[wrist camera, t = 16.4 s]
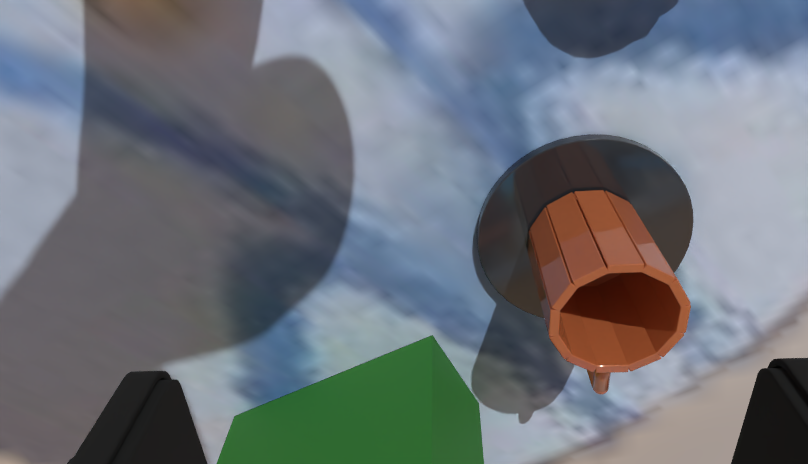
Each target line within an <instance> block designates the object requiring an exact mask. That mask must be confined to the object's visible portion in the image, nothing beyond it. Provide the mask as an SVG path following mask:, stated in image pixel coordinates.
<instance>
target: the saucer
mask: <svg viewBox="0 0 808 464" xmlns="http://www.w3.org/2000/svg"><path fill="white" fill-rule="evenodd" d="M594 190H604V192H605V191H608V192H610V193H612V194H614V195H616V196H618V197H620V198H622V199H624V200H626V201H628V202H629V203H630V204H632V206H633V207H634V209H635V211H636V212H637V214H638V216H639V217H640V219H641V220H642V222H643V224H644V225H645V227H646V229H647V230H648V232H649V233H650V235H651V237H652V238H653V240H654V242H655V243H656V245H657V246H658V248H659V250H660V251H661V253H662V255H663V256H664V258H665V259H666V261H667V263H668V264H669V266H670V268H671V269H672V271H673V272H675V271H676V270H677V268H678V267H679V265H680V263H681V261H682V260H683V258H684V256H685V254H686V251H687V249H688V247H689V243H690V239H691V236H692V229H693V209H692V204H691V199H690V196H689V193H688V191H687V188H686V186H685V184H684V183H683V181H682V179H681V178H680V176H679V175H678V174H677V172H676V171H675V170H674V169H673V168H672V167H671V165H670V164H669V163H668V162H667V161H666V160H665V159H664V158H662V157H661V156H660V155H659V154H658V153H656V152H655V151H653V150H651V149H650V148H648V147H647V146H645V145H642V144H640V143H638V142H635V141H633V140H629V139H626V138H622V137H617V136H610V135H581V136H573V137H569V138H565V139H560V140H557V141H555V142H552V143H549V144H546V145H544V146H542V147H540V148H538V149H536V150H534V151H532V152H530V153H529V154H527V155H526V156H524V157H522V158H521V159H519V160H518V161H517V162H516V163H515V164H513V165H512V166H511V167H510V168H509V169H508V170H507V171H506V172H505V173H504V174H503V175H502V176H501V177H500V178H499V179H498V181H497V182H496V183H495V185H494V186H493V188H492V189H491V191H490V192H489V194H488V196H487V198H486V200H485V202H484V205H483V207H482V210H481V213H480V217H479V221H478V229H477V242H478V252H479V257H480V261H481V264H482V267H483V269H484V272H485V274H486V276H487V277H488V279H489V281H490V282H491V284H492V285H493V286H494V288H495V289H496V290H497V291H498V292H499V293H500V294H501V295H502V296H503V297H504V298H505V299H506V300H507V301H509V302H510V303H512V304H513V305H515V306H516V307H518V308H520V309H522V310H524V311H525V312H527V313H530V314H533V315H536V316H538V317H542V318H544V315H543V311H542V307H541V303H540V299H539V295H538V291H537V287H536V283H535V279H534V275H533V271H532V267H531V263H530V259H529V255H528V242H529V231H530V228H531V226H532V225H533V223H534V222H535V220H536V219H537V218H538V216H539V215H540V213H541V212H542V210H543V209H544V208H547V205H548V204H550V203H552V202H554V201H556V200H558V199H560V198H562V197H563V196H565V195H567V194H569V193H571V192H573V193H574V192H575V191H594Z"/></svg>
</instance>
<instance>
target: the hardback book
mask: <svg viewBox="0 0 808 464" xmlns="http://www.w3.org/2000/svg"><path fill="white" fill-rule="evenodd" d="M217 464H484V459H483V447H482V435H481V423H480V412H479V403H478V401H477V400H476V399H475V397H474V396H473V394H472V393H471V391H470V390H469V388H468V387H467V385H466V384H465V382H464V381H463V379H462V378H461V377H460V375H459V374H458V372H457V371H456V369H455V368H454V366H453V365H452V363H451V362H450V360H449V359H448V357H447V356H446V354H445V353H444V352H443V350H442V349H441V347H440V346H439V344H438V343H437V341H436V340H435V338H434V337H433V335H432V336H430V337H427V338H425V339H422V340H420V341H417V342H415V343H412V344H410V345H408V346H405V347H403V348H400V349H398V350H395V351H393V352H390V353H388V354H386V355H383V356H381V357H378V358H376V359H373V360H371V361H368V362H366V363H364V364H361V365H359V366H356V367H354V368H351V369H349V370H346V371H344V372H342V373H339V374H337V375H334V376H332V377H329V378H327V379H324V380H322V381H320V382H317V383H315V384H312V385H310V386H307V387H305V388H302V389H300V390H298V391H295V392H293V393H290V394H288V395H285V396H283V397H280V398H278V399H276V400H273V401H271V402H268V403H266V404H263V405H261V406H258V407H256V408H254V409H251V410H249V411H246V412H244V413H241V414H239V415H236V416H235V417H234V419H233V422H232V425H231V427H230V430H229V432H228V435H227V438H226V440H225V443H224V446H223V448H222V451H221V454H220V456H219V459H218V462H217Z"/></svg>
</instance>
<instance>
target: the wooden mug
mask: <svg viewBox="0 0 808 464" xmlns="http://www.w3.org/2000/svg"><path fill="white" fill-rule="evenodd" d="M528 255H529V259H530V263H531V267H532V271H533V275H534V279H535V283H536V287H537V291H538V295H539V299H540V303H541V307H542V311H543V315H544V319H545V323H546V327H547V331H548V335H549V338H550V340H551V341H552V343H553V344H554V345H555V347H556V348H557V350H558V351H559V353H560V354H561V355H562V357H563V358H564V359H566V361H568V362H570V363H572V364H575V365H577V366H580V367H582V368H584V369H587V372H588V375H589V378H590V381H591V385H592V388H593V390H594V391H595V392H596V393H598V394H605V393H606V392H607V391H608V389H609V381H610V374H611V372H628V368H629V370H630V371H633V370H635V369H638V368H640V367H642V366H645V365H647V364H650V363H652V362H654V361H657V360H659V359H661V357H660V356H662V357H664V356H665V355H666V354H667V353H668V352H669V351H670V350H671V349H672V347H673V346H674V345H675V344H676V343H677V342H678V341H679V340H680V339H681V338H682V337H683V336H684V333H685V332H686V328H687V323H688V318H689V313H690V308H691V305H690V301H689V299H688V297H687V295H686V294H685V292H684V290H683V288H682V286H681V284H680V283H679V281H678V279H677V277H676V276H675V274H674V272H673V271H672V269H671V268H670V266H669V264H668V263H667V261H666V259H665V258H664V256H663V255H662V253H661V251H660V250H659V248H658V246H657V245H656V243H655V242H654V240H653V238H652V237H651V235H650V233H649V232H648V230H647V229H646V227H645V225H644V224H643V222H642V220H641V219H640V217H639V216H638V214H637V212H636V211H635V209H634V207H633V206H632V204H630V203H629V202H628V201H626V200H624V199H622V198H620V197H618V196H616V195H614V194H612V193H610V192H608V191H605V192H604V190H594V191H575V192H574V193H573V192H571V193H569V194H567V195H565V196H563V197H562V198H560V199H558V200H556V201H554V202H552V203H550V204H548V205H547V208H544V209H543V210H542V212H541V213H540V215H539V216H538V218H537V219H536V220H535V222H534V223H533V225H532V226H531V228H530V231H529V242H528Z"/></svg>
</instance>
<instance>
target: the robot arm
mask: <svg viewBox="0 0 808 464" xmlns="http://www.w3.org/2000/svg"><path fill="white" fill-rule="evenodd" d="M67 464H207V462H206V459H205V456H204V453H203V450H202V447H201V444H200V441H199V438H198V435H197V432H196V429H195V426H194V423H193V420H192V417H191V414H190V411H189V408H188V405H187V402H186V399H185V396H184V393H183V390H182V387H181V385H180V383H179V381H178V380H172V379H171V377H170V375H169V374H168V373H167V372H166V371H143V372H130V373H128V374H127V375H126V376H125V377H124V378H123V380H122V381H121V383H120V385H119V386H118V388H117V389H116V391H115V393H114V394H113V396H112V397H111V399H110V401H109V402H108V404H107V405H106V407H105V408H104V410H103V412H102V413H101V415H100V416H99V418H98V420H97V421H96V423H95V424H94V426H93V428H92V429H91V431H90V432H89V434H88V435H87V437H86V439H85V440H84V442H83V443H82V445H81V447H80V448H79V450H78V451H77V453H76V454H75V456H74V457H73V458H72V459H70V461H69V462H68V463H67ZM731 464H808V358H786V359H774V360H772V361H771V362H770V364H769V366H768V368H764V369H761V370H760V371H759V373H758V375H757V378H756V382H755V385H754V388H753V392H752V395H751V398H750V402H749V406H748V409H747V412H746V415H745V419H744V422H743V426H742V429H741V432H740V436H739V439H738V442H737V446H736V449H735V452H734V456H733V459H732V463H731Z"/></svg>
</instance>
